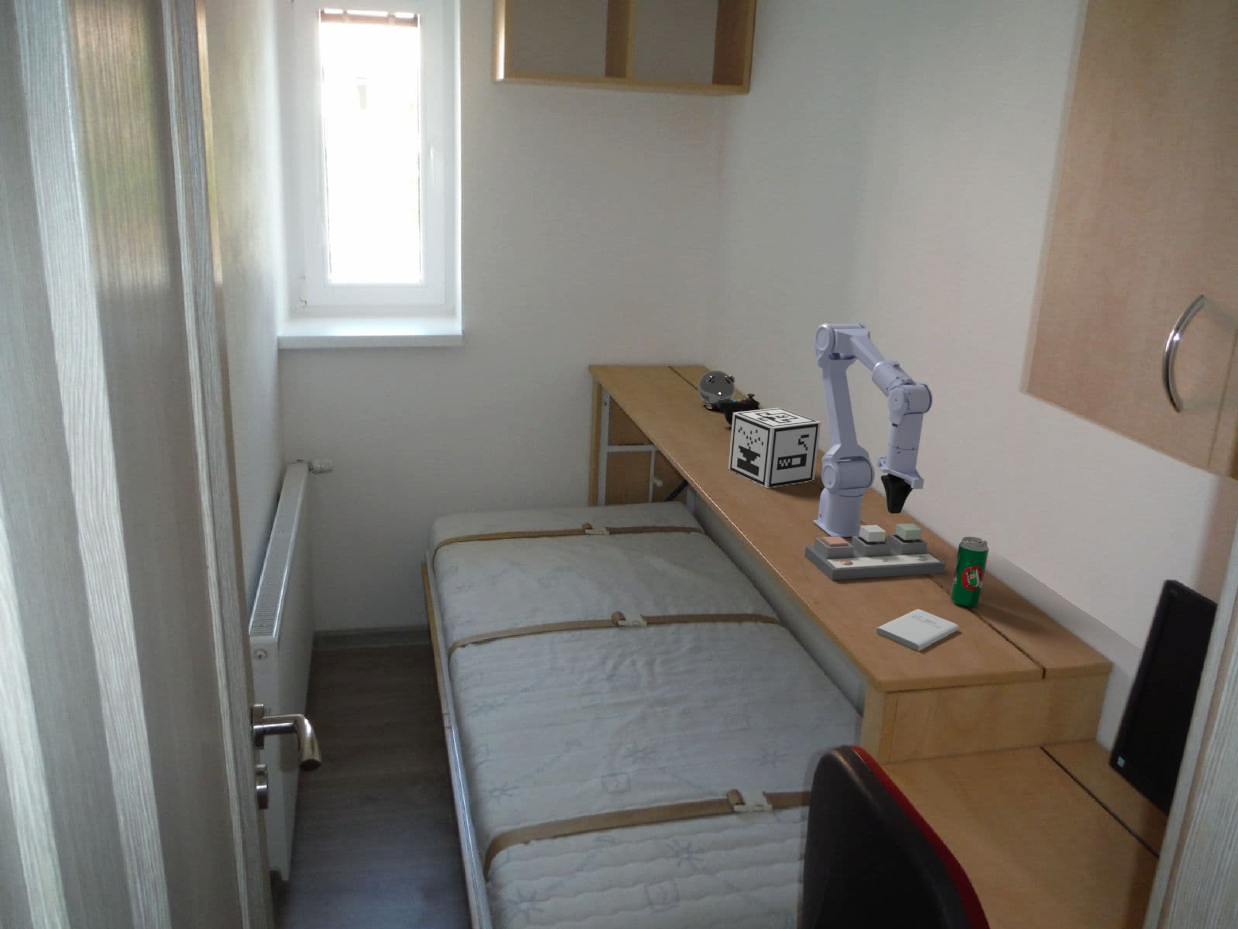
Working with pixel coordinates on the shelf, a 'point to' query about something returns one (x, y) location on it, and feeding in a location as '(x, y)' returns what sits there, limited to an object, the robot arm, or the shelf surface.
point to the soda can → (969, 571)
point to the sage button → (908, 531)
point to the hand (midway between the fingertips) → (894, 512)
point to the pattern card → (883, 561)
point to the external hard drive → (917, 629)
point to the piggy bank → (716, 387)
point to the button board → (872, 549)
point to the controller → (737, 406)
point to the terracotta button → (834, 541)
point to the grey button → (872, 533)
